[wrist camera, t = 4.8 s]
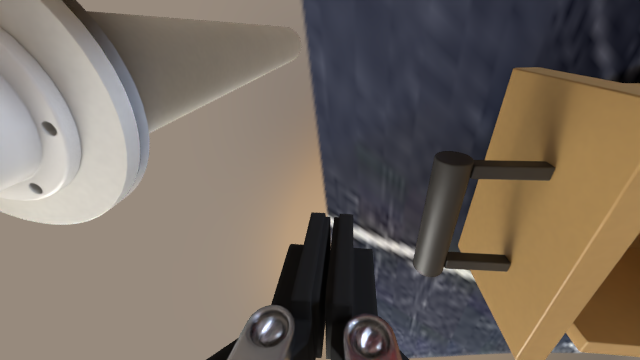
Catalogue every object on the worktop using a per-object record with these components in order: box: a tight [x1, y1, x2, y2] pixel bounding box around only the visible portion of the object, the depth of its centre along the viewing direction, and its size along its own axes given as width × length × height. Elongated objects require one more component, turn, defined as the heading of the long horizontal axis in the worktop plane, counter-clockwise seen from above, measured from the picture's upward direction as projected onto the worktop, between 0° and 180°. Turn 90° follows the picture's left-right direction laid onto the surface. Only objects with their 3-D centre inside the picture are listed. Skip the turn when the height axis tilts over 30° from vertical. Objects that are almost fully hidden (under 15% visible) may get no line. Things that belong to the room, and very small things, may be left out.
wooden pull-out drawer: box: [413, 67, 640, 360], centre depth 12 cm, size 18×11×7 cm, turn 92°
